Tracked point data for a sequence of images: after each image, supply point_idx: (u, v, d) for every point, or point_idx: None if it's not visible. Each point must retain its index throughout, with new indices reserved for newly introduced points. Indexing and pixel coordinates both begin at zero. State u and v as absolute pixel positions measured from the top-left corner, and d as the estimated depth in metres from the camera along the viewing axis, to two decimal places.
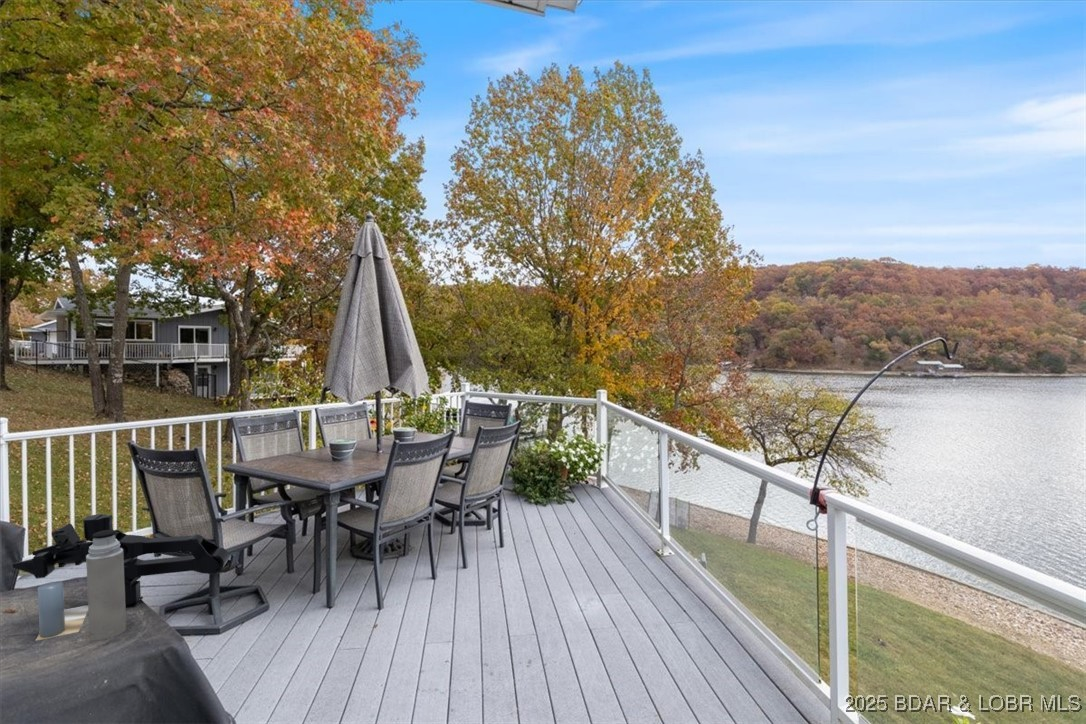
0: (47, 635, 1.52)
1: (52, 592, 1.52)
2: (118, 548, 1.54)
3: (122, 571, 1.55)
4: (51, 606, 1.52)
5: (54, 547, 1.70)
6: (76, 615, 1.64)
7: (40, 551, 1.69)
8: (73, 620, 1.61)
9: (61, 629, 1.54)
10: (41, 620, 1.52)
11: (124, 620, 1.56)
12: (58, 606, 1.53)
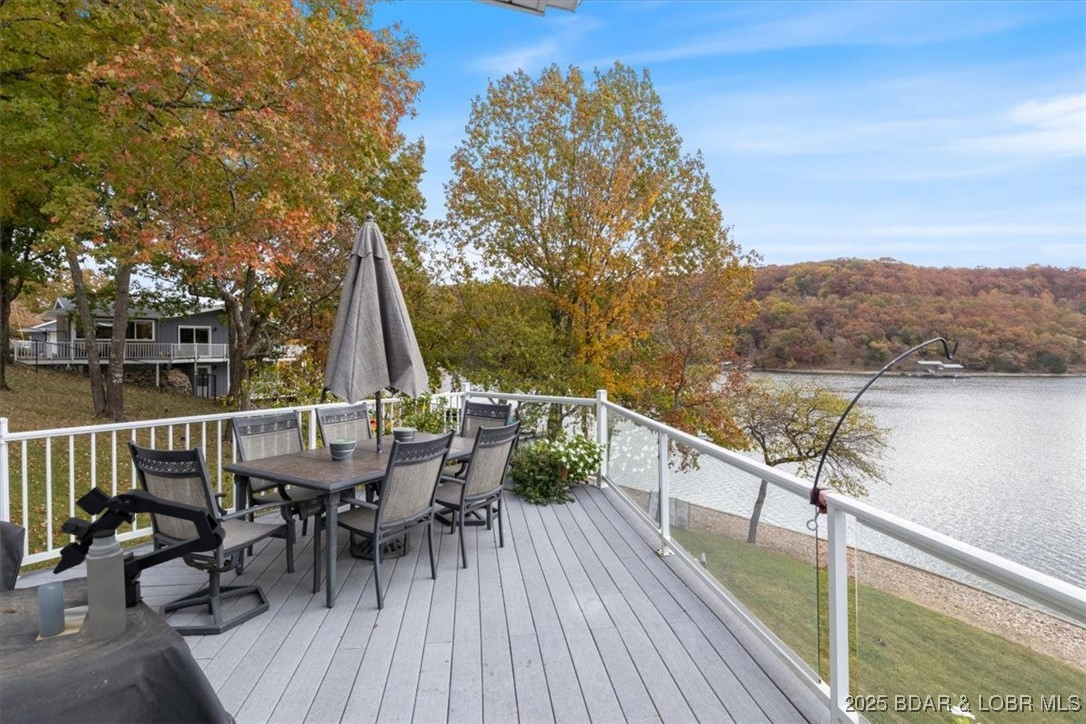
0: (47, 635, 1.52)
1: (52, 592, 1.52)
2: (118, 548, 1.54)
3: (122, 571, 1.55)
4: (51, 606, 1.52)
5: (81, 544, 1.71)
6: (76, 615, 1.64)
7: None
8: (73, 620, 1.61)
9: (61, 629, 1.54)
10: (41, 620, 1.52)
11: (124, 620, 1.56)
12: (58, 606, 1.53)
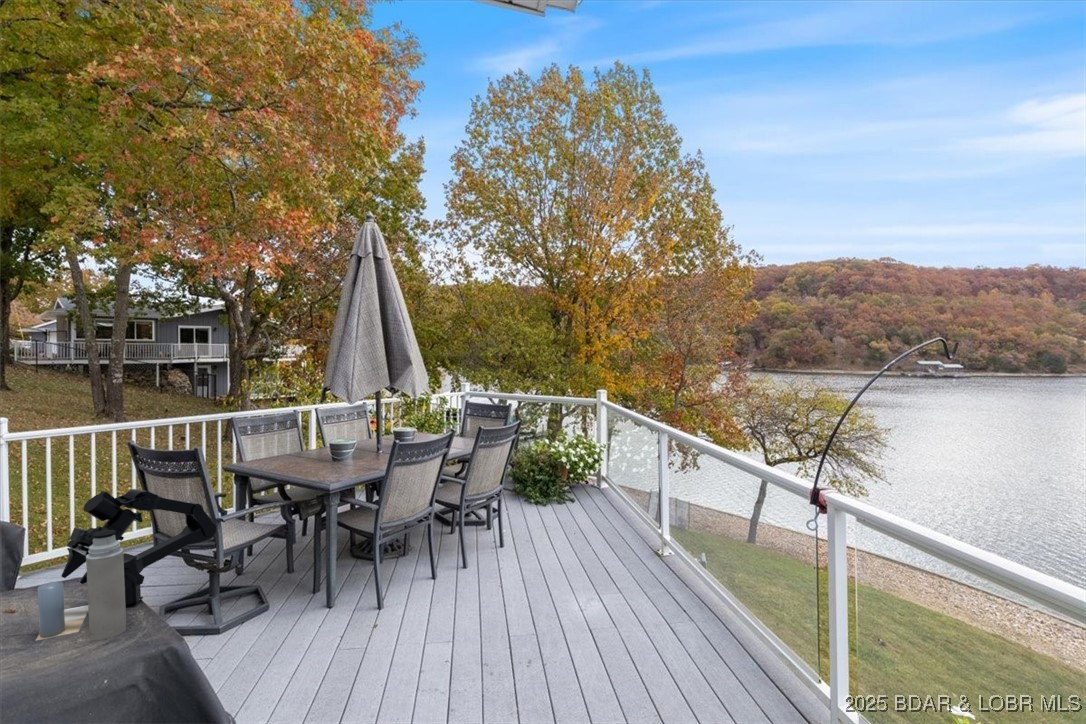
0: (47, 635, 1.52)
1: (52, 592, 1.52)
2: (118, 548, 1.54)
3: (122, 571, 1.55)
4: (51, 606, 1.52)
5: (74, 557, 1.63)
6: (76, 615, 1.64)
7: (67, 570, 1.61)
8: (73, 620, 1.61)
9: (61, 629, 1.54)
10: (41, 620, 1.52)
11: (124, 620, 1.56)
12: (58, 606, 1.53)
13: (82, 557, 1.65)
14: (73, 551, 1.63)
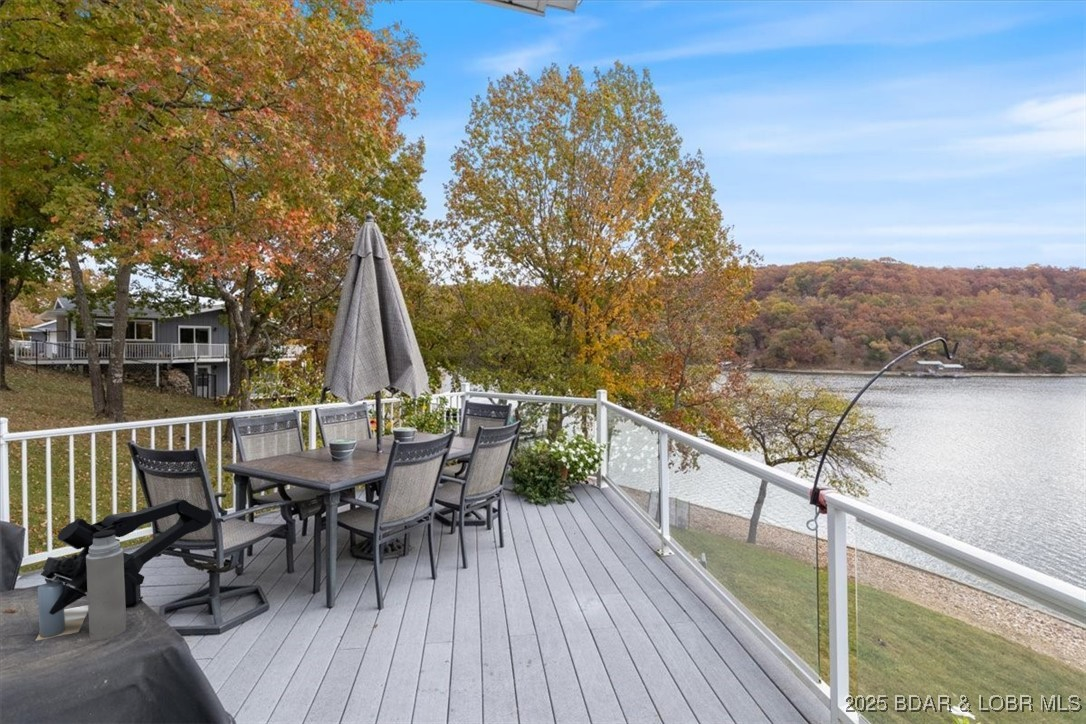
0: (47, 635, 1.52)
1: (52, 592, 1.52)
2: (118, 548, 1.54)
3: (122, 571, 1.55)
4: (51, 606, 1.52)
5: None
6: (76, 615, 1.64)
7: None
8: (73, 620, 1.61)
9: (61, 629, 1.54)
10: (41, 620, 1.52)
11: (124, 620, 1.56)
12: None
13: None
14: None
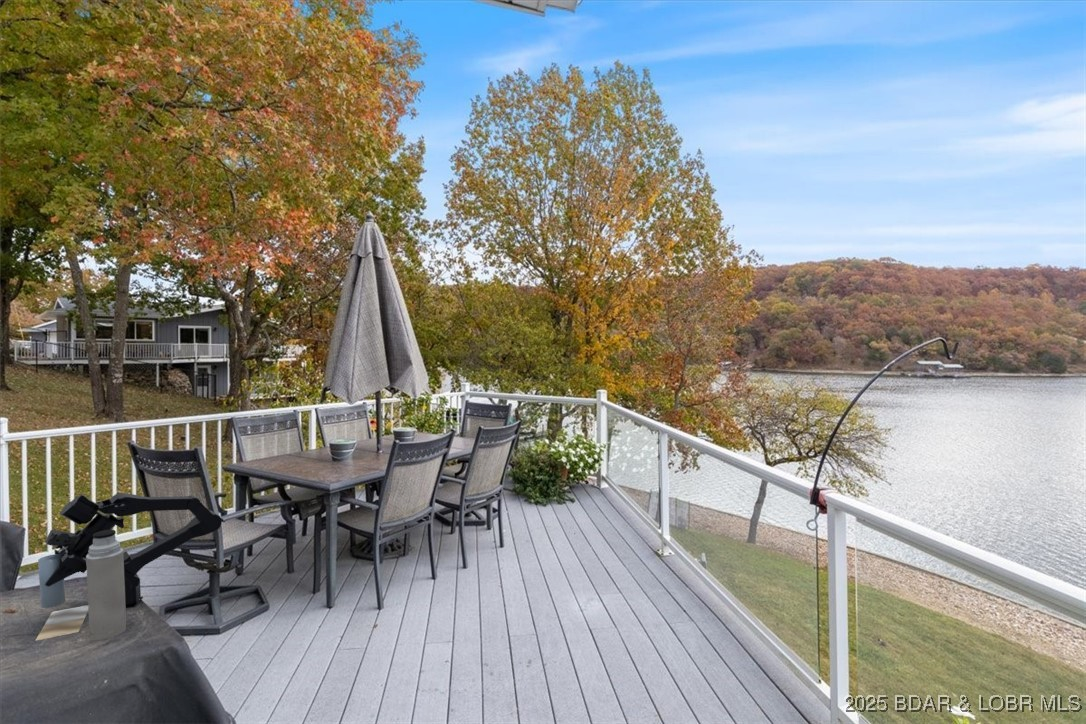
0: (44, 606, 1.56)
1: (48, 565, 1.56)
2: (118, 548, 1.54)
3: (122, 571, 1.55)
4: (47, 578, 1.56)
5: None
6: (76, 615, 1.64)
7: None
8: (73, 620, 1.61)
9: (58, 601, 1.58)
10: (40, 590, 1.57)
11: (124, 620, 1.56)
12: None
13: None
14: None
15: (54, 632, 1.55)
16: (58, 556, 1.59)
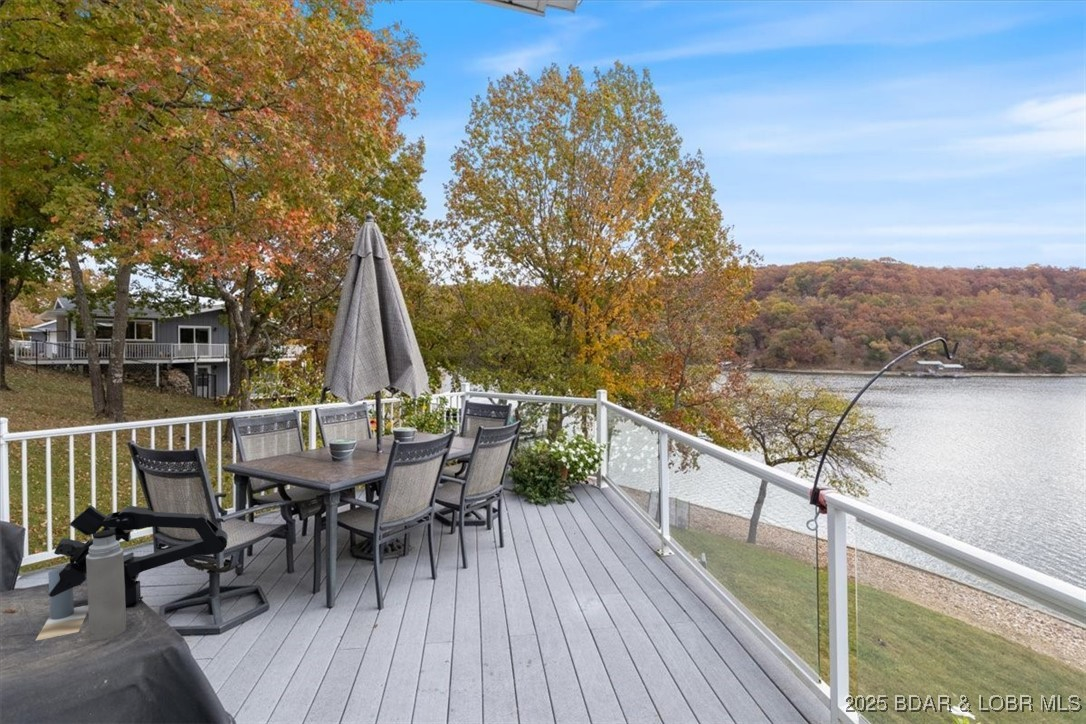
0: (51, 617, 1.62)
1: (55, 578, 1.61)
2: (118, 548, 1.54)
3: (122, 571, 1.55)
4: None
5: None
6: (76, 615, 1.64)
7: None
8: (73, 620, 1.61)
9: (64, 614, 1.62)
10: None
11: (124, 620, 1.56)
12: None
13: None
14: (71, 559, 1.69)
15: (54, 632, 1.55)
16: None
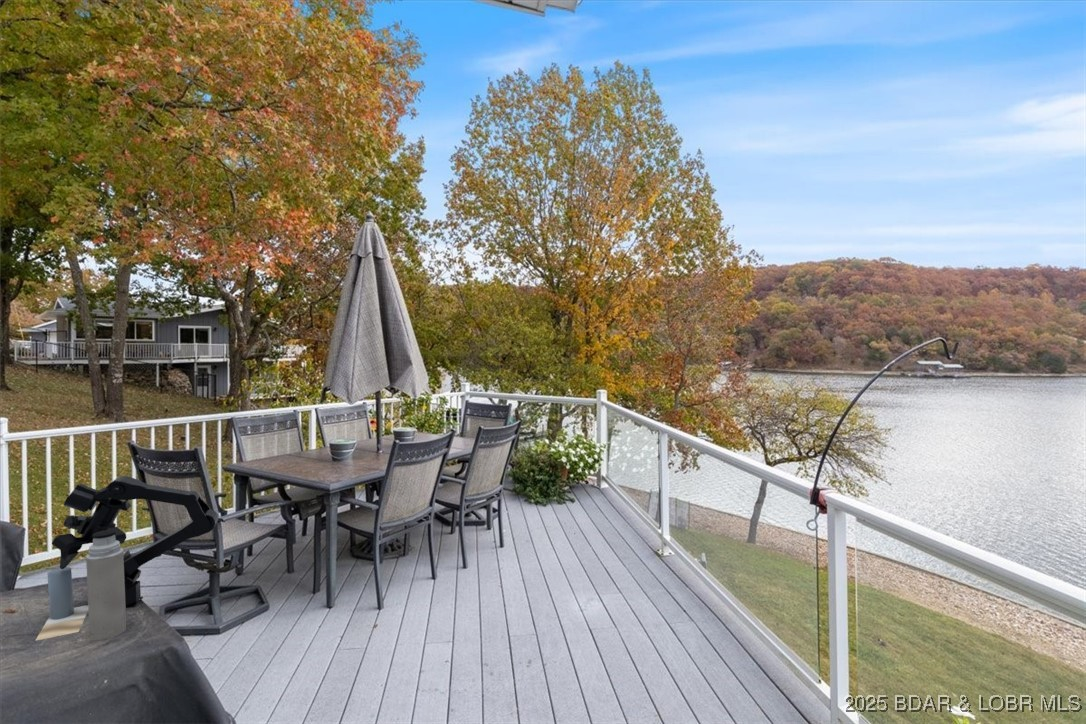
0: (51, 617, 1.62)
1: (54, 579, 1.61)
2: (118, 548, 1.54)
3: (122, 571, 1.55)
4: (53, 591, 1.61)
5: None
6: (76, 615, 1.64)
7: None
8: (73, 620, 1.61)
9: (64, 614, 1.62)
10: (49, 602, 1.62)
11: (124, 620, 1.56)
12: (60, 592, 1.61)
13: None
14: None
15: (54, 632, 1.55)
16: (66, 570, 1.64)
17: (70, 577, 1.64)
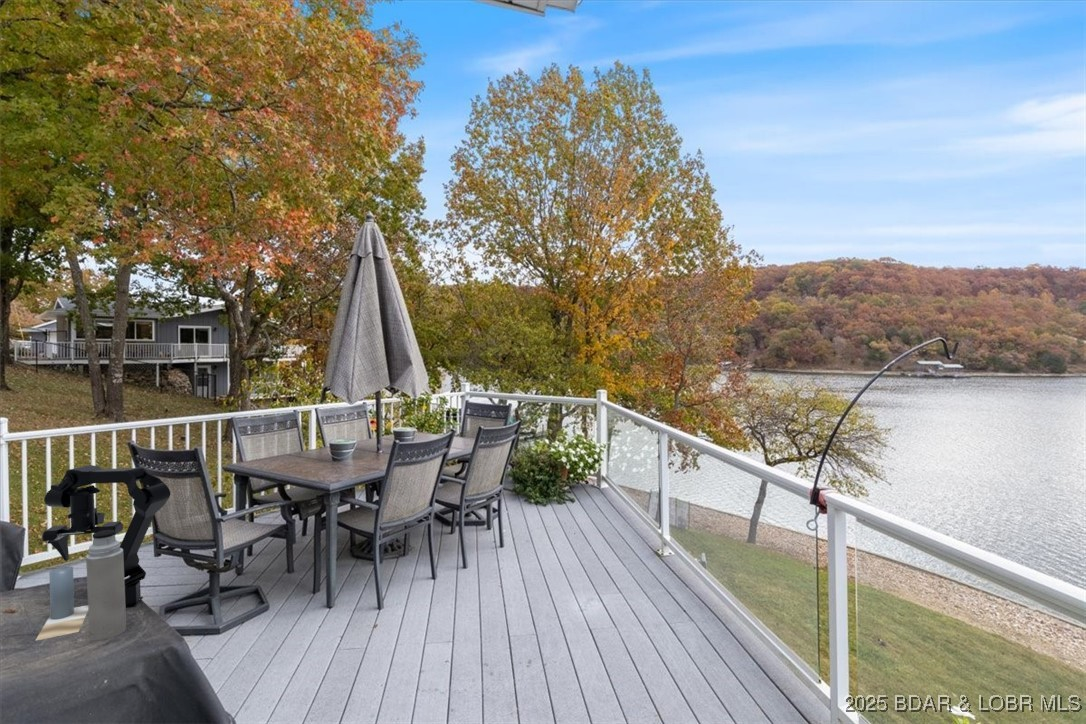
0: (52, 617, 1.62)
1: (56, 577, 1.61)
2: (118, 548, 1.54)
3: (122, 571, 1.55)
4: (55, 590, 1.61)
5: None
6: (76, 615, 1.64)
7: None
8: (73, 620, 1.61)
9: (64, 614, 1.62)
10: (50, 601, 1.62)
11: (124, 620, 1.56)
12: (61, 591, 1.62)
13: None
14: None
15: (54, 632, 1.55)
16: (68, 569, 1.64)
17: (72, 576, 1.64)
